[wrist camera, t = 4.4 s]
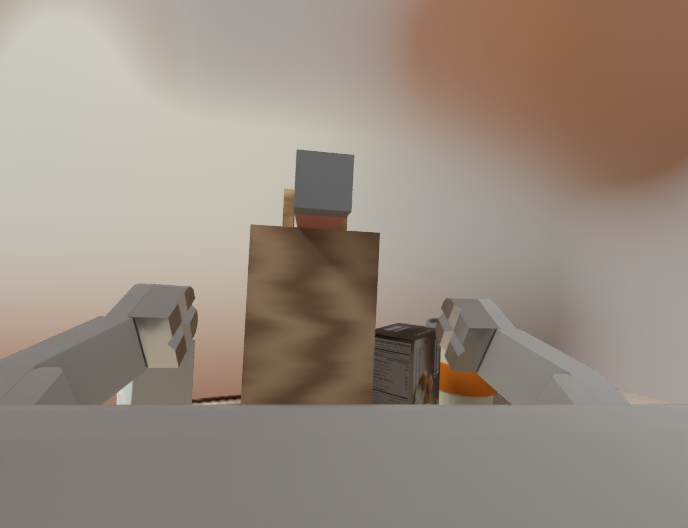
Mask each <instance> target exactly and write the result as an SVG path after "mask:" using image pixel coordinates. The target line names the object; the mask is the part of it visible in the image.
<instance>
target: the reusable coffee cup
mask: <svg viewBox="0 0 688 528" xmlns="http://www.w3.org/2000/svg"><path fill="white" fill-rule="evenodd" d="M437 320H438V318H431V319H428V320H427V321H426V327H431V328H436V323H437ZM445 353H446V350H444V349H443V348H442V347H441V358H440V385H439V405H493V399H494V395H495V394H496V393H497V391H496V390H495V389H494V388H492V387H491V386H490V385H489V384H488V383H487V382H486V381H485V380H483V379H482V378H481V377H480V376H479V375H478V374H477V373H476V372H452V370H451V368H450V366H449V364H448V362H447V360H446V358H445Z"/></svg>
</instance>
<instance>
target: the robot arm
mask: <svg viewBox="0 0 688 528" xmlns="http://www.w3.org/2000/svg"><path fill="white" fill-rule="evenodd" d="M194 299H195V296H194V290H193V289H192V288H191V287H190V286H189V287H188V286H174V285H158V284H157V285H155V284H136V285H134V286H133V287H132V288H131V289H130V290H129V292H128V293H127V294H126V295H125V296H124V297H123V298H122V299H121V300H120V301H119V302H118V304H116V306H115V307H114V308H113V309H112V310H111V311H110V312H109V313H108V314H107V315H106V316H105V317H101V316H99V317H97V318H95V319H92V320H90V321H88V322H85V323H83V324H81V325H79V326H76V327H74V328H72V329H70V330H67V331H65V332H63V333H60V334H58V335H56V336H53V337H51V338H49V339H47V340H44V341H42V342H40V343H38V344H35V345H33V346H31V347H28V348H26V349H24V350H21V351H19V352H17V353H15V354H12V355H10V356H8V357H5V358H3V359H1V360H0V528H688V404H630V403H629V402H628V401H627V400H626V399H625V398H624V397H623V396H622V395H621V394H620V393H619V392H618V391H617V390H616V389H615V388H614V387H613V386H612V385H611V384H610V383H609V382H608V381H607V380H606V379H605V378H604V377H603V376H602V375H601V374H600V373H598V372H597V371H595V370H593V369H591V368H589V367H588V366H586V365H584V364H582V363H580V362H578V361H577V360H575V359H573V358H571V357H569V356H568V355H566V354H564V353H562V352H560V351H558V350H557V349H555V348H553V347H551V346H549V345H547V344H546V343H544V342H542V341H540V340H538V339H537V338H535V337H533V336H531V335H529V334H527V333H526V332H524V331H522V330H516V328H515V327H514V326H513V325H512V324H511V322H510V321H509V320H508V319H507V318H506V316H505V315H504V314H503V313H502V312H501V310H500V309H499V308H498V307H497V306H496V305H495V303H494V302H493V301H492V300H489V299H449V298H447V299H446V300H445V301H444V302H443V305H442V307H441V309H442V311H443V313H444V314H443V315H442V316H440V317H439V318H438V320H437V323H436V338H437V341H438V344H439V346H440V347H442V348H443V349H444V350H446V353H445V358H446V360H447V362H448V364H449V366H450V368H451V370H452V372H476V373H477V374H478V375H479V376H480V377H481V378H482V379H483V380H485V381H486V382H487V383H488V384H489V385H490V386H491V387H492V388H494V389H495V390H496V391H497V392H498V393H499V394H500V395H501V396H503V397H504V398H505V399H506V400H507V401H508V402H509V403H510V404H507V405H407V404H351V405H102V404H103V403H104V402H106V401H107V400H108V399H110V398H111V397H112V396H114V395H115V394H116V393H117V392H119V391H120V390H121V389H123V388H124V387H125V386H126V385H128V384H129V383H130V382H132V381H133V380H134V379H135V378H137V377H138V376H139V375H141V374H142V373H143V372H144V371H146V370H147V369H146V368H179V366H180V364H181V362H182V360H183V358H184V356H185V354H186V352H187V348H186V344H187V343H188V342H190V341H191V340H192V339H193V337H194V335H195V333H196V328H197V321H198V319H197V317H198V316H197V310H196V309H195V308H194V307H193V306H192V303H193V301H194Z"/></svg>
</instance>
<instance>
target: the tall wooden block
mask: <svg viewBox="0 0 688 528" xmlns="http://www.w3.org/2000/svg"><path fill="white" fill-rule="evenodd" d="M294 194H295V190H292V189H284V208H283V226H282V227H281V226H264V225H251V229H250V248H249V266H248V283H247V301H246V319H245V337H244V356H243V373H242V392H241V405H351V404H372V389H373V368H374V346H375V325H376V304H377V282H378V260H379V239H380V233H373V232H358V231H347V217H346V219H345V220H344V221H343V222H342V224H341V225H340V226H339V227H338V228H337V230H327V229H312V228H297V227H294V216H295V211H294Z"/></svg>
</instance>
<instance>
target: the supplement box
mask: <svg viewBox="0 0 688 528" xmlns="http://www.w3.org/2000/svg"><path fill="white" fill-rule="evenodd" d="M186 348H187V352H186V354H185V356H184V358H183V360H182V362H181V364H180V366H179V368H146V369H147V370H146V371H144V372H143V373H142V374H141V375H139V376H138V377H137V378H135V379H134V380H133V381H132V382H130V383H129V384H128V385H126V386H125V387H124V388H123V389H121V390H120V391H119V392H117V405H192V387H193V367H194V349H195V339H192V340H191V341H190V342H188V343H187V344H186Z"/></svg>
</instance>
